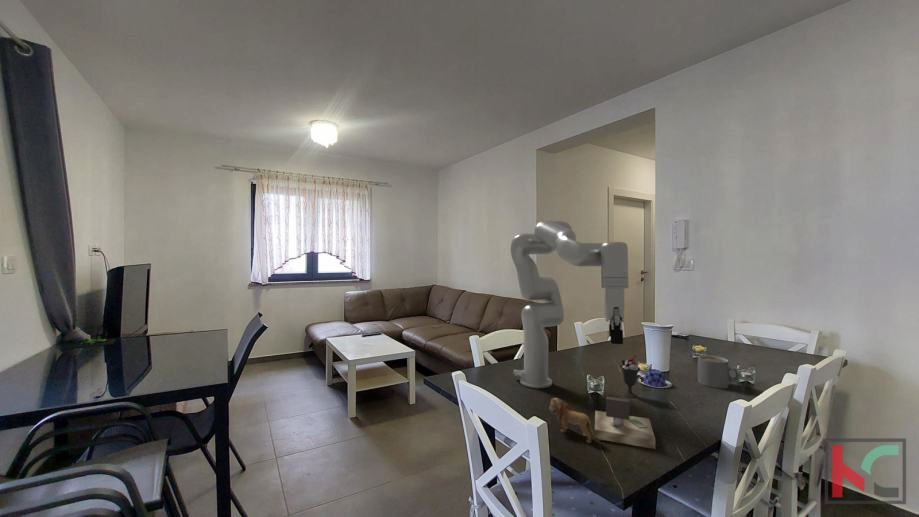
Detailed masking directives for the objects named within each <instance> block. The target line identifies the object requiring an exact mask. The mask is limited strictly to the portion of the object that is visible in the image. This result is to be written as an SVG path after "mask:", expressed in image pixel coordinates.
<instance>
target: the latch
mask: <svg viewBox="0 0 919 517" xmlns="http://www.w3.org/2000/svg"><path fill="white" fill-rule="evenodd" d="M605 412H606V416H607V417H613V424H614V425H616V426H621V425H622V419H627V420H629V416H630V399H628V398H621V397H619V398H618V397H614V396H613V397H612V396H607V395H606V398H605Z"/></svg>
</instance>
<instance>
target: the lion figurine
mask: <svg viewBox="0 0 919 517" xmlns="http://www.w3.org/2000/svg"><path fill="white" fill-rule="evenodd" d="M549 405H550V406H549V407H548V409H549V411H550V414H553V416H556V419H557V420H559V421H560V422H561V426H562V429H560V432H561V433H562V434H563V433H566V431H567V430H568V428H569V424H572V425H574V426H579V428H580V429H581V431H582V432H583V433H582V436H584V437H586V438H587V439H586V440H585V442H586V443H587V444H591V443H592V437H593V439H595V440H596V441H597V442H600V441H601V439H598V438H596V437H595V432H594V430H593V426H592V423H591V420H590V417H589V416H588V415H587V414H586V413H583V412H577V411H575V410H573V409H572V408H571V406H570V405H569V404H568V403H566V402H565V401H564V400H563V399H561V398H558V397H553V398H550V403H549ZM589 430H590V432H591V434H592V437H591V434H590V433H589Z"/></svg>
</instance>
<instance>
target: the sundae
mask: <svg viewBox="0 0 919 517" xmlns="http://www.w3.org/2000/svg"><path fill="white" fill-rule="evenodd" d="M635 358H637V355H636V354H634V356H633V357H632V358H629V359H627V360H624V359H622V360H621V364H622V365H620V366H619V367H620V369H621V370H622V371H621V372H622V378H623V382H624V383H625V384H626V385H627V391H626V392H625V391H624V392H622V396H624V397H625V398H631V399H635V398H637V397H638V394H636V393H633V390H632V387H633V386H635V385H636V384H637V381H638V374H639V373H638V372H640V370H641V368H640V366H638V365H637V364H636V360H635Z"/></svg>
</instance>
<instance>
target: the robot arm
mask: <svg viewBox="0 0 919 517" xmlns="http://www.w3.org/2000/svg"><path fill="white" fill-rule="evenodd" d="M628 246H629V245H628V244H627V243H626V242H625V241H608V242H607V241H606V242H579V241H577V235H576V233H575V231H574V230H573V228H572V227H571V225H570V224H569V223H568V222H566V221H563V220H546V219H545V220H542V221H540V222H538V223H537V224H536V225H535V227H534V233H521V234H517V235H516V236H514V238H513V239H512V241H511V244H510V256H511V258H512V261H513V264H514V266H515V268H516V275H517V280H518V284H519V290H520V295H521V297H522V299H524V300H525V301H529V302H530V301H533V302H534V301H536V303H530V304H527V305H525V306H524V307H523V308H522V310H521V313H520V315H521V316H520V317H521V322H522V327H523V328H522V329H523V369H521V370H520V369H513V375H514V377H520V378H519V383H520V384H521V385H522V386H525V387H527V388H531V389H546V388H550V387H551V386H552V385H553V380H552V379H551V378H549V338H548V335H547V333H546V331H545V330H544V329H545V328H547V327H549V328H550V327H556V326H559V325H561V324H563V321H564V319H565V312H564V311H565V310H564V306H563V302H562V298H561V297H562V296H561V292H560V288H559V285H558V283H557V282H556V280H555V279H554V278H552V277H549V276H540V274H539V269H538V266H537V263H536V262H535V261H534V259H533V258H532V257H531V256H530V255H548V254H552V253H553V252H555V251H556V253H557V254H558V257H560V258H561V260H563V261H565V262H567V263H569V264H570V265H574V266H576V267H600V274H601V275H600V284H601V289H604V319H605V321H606V322H608V323H609V324H608V333H609V334H608V335H609V337H610V343H611V344H612V345H623V344H624V329H623V323H624V321H625V289H629V288H630V287H629V282H630V281H629V248H628ZM537 301H543V302H541V303H540V302H539V303H537Z"/></svg>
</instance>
